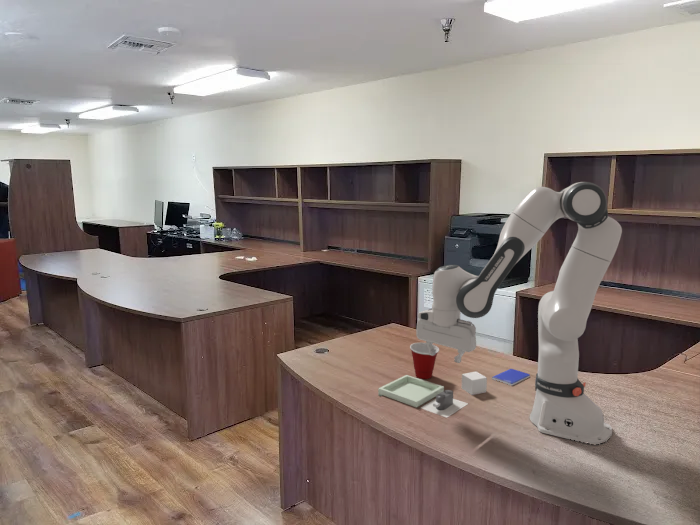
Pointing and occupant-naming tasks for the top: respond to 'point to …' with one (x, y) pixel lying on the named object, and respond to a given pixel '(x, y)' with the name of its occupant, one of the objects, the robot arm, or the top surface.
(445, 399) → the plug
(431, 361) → the plastic cup
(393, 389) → the tray
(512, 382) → the hard drive
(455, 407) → the mat
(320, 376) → the top surface
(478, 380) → the white cube
